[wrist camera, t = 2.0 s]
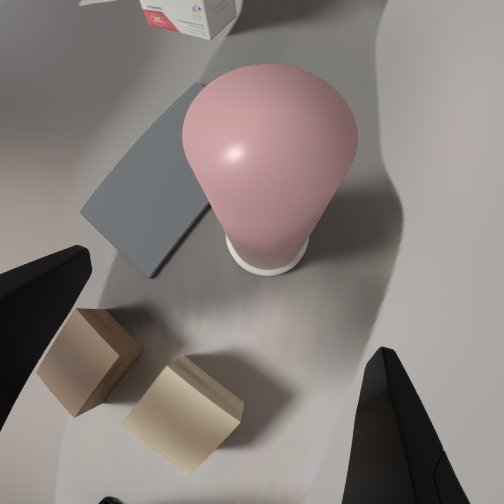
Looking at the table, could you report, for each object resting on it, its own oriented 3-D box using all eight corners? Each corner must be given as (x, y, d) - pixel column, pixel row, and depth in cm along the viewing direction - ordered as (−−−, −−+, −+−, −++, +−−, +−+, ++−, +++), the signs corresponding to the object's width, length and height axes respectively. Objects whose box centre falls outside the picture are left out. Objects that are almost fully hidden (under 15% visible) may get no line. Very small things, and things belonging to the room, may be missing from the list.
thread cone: (275, 292, 20) (294, 266, 7) (211, 244, 20) (133, 147, 8) (322, 229, 20) (398, 118, 7) (259, 185, 21) (252, 37, 8)
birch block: (201, 448, 18) (189, 475, 14) (145, 405, 19) (121, 423, 15) (245, 401, 19) (240, 422, 15) (185, 355, 19) (166, 365, 15)
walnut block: (102, 403, 19) (74, 417, 15) (67, 365, 19) (36, 372, 15) (145, 348, 19) (119, 355, 15) (106, 309, 20) (75, 308, 16)
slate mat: (150, 278, 20) (148, 278, 20) (82, 213, 21) (79, 212, 21) (275, 128, 22) (275, 125, 21) (196, 85, 23) (196, 82, 22)
